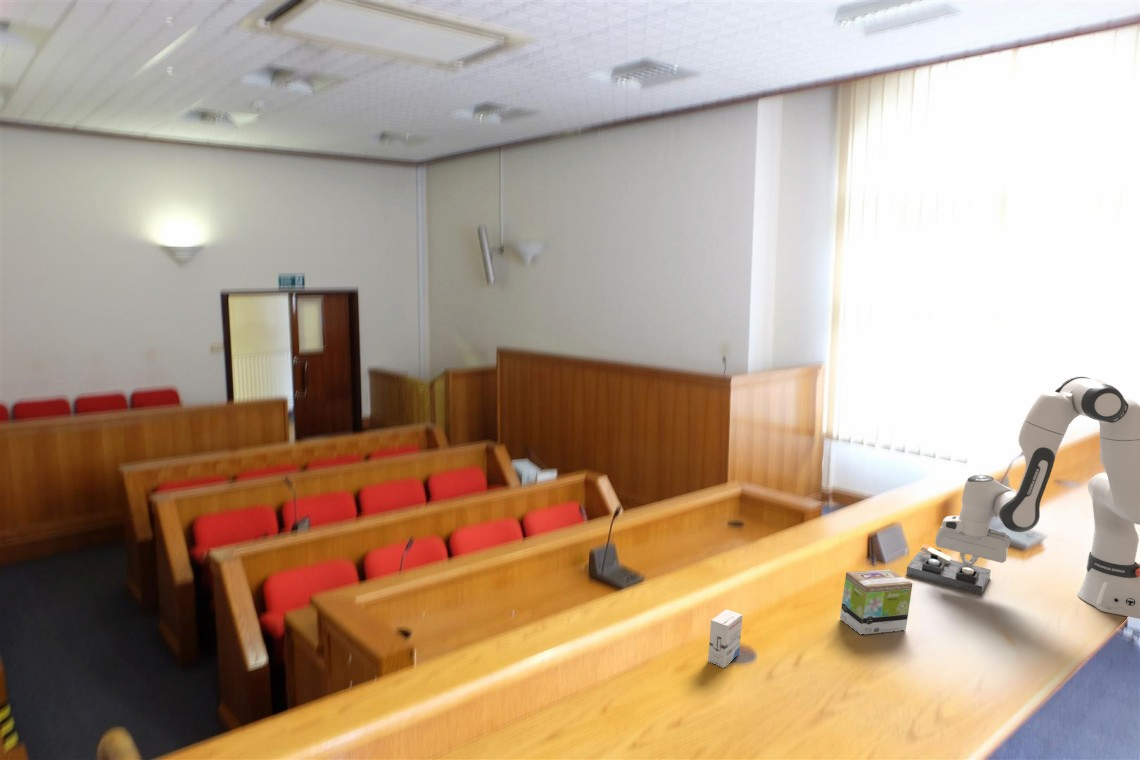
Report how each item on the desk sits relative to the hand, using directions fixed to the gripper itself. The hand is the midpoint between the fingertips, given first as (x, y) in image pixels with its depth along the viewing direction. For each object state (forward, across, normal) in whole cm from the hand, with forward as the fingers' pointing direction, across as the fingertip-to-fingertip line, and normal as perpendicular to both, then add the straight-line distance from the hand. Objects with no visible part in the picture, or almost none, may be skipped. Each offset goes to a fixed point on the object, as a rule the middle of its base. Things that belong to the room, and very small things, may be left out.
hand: (967, 567), depth 242 cm
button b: (+2, +10, 0) cm, 10 cm away
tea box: (+7, +16, +46) cm, 49 cm away
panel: (+7, +6, -4) cm, 10 cm away
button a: (+2, 0, 0) cm, 2 cm away
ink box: (+7, +41, +90) cm, 99 cm away
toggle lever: (+2, +1, -8) cm, 8 cm away
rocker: (+3, +11, -8) cm, 14 cm away
